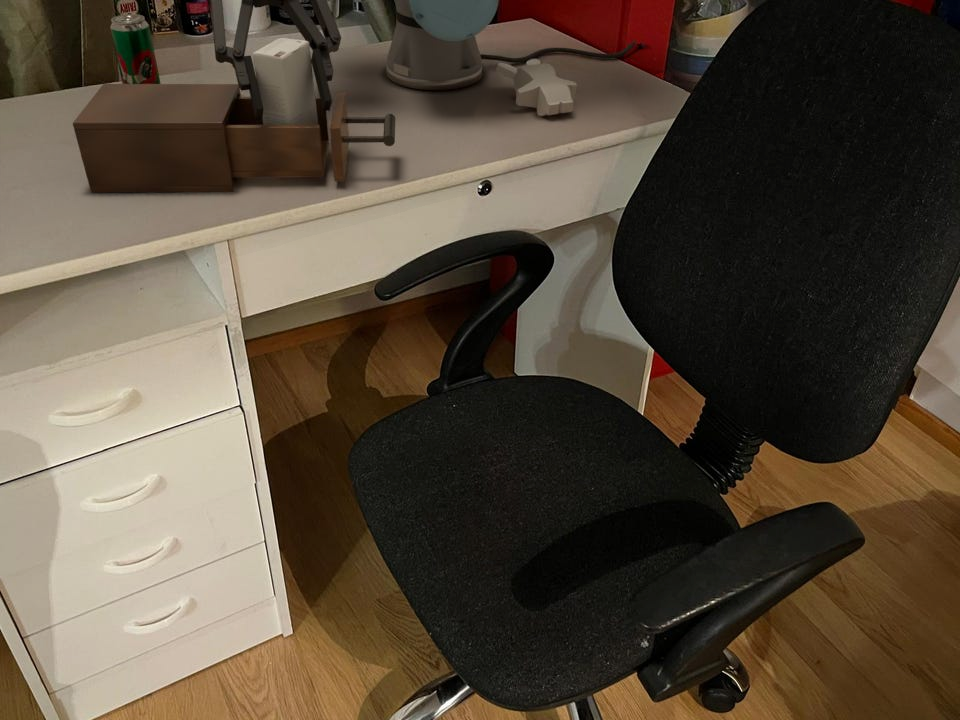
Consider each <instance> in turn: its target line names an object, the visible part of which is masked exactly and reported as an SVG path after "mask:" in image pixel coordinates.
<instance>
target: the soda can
mask: <svg viewBox="0 0 960 720" xmlns="http://www.w3.org/2000/svg"><path fill="white" fill-rule="evenodd" d="M110 20H111V21H110V22H111V24H110V27H109V30H110V35H111V37H112V38H111V39H112V43H113V48H114V51H115V56H116V57H115V58H116V61H117V65H118V70H119V74H120V78H121V84H162V83H161V78H160V74H159V68H158V64H157V59H156V53H155V48H154V44H153V38H152V33H151V28H150V24H148V22H147V21H146V18H145V16H144V15H141V14H137V13H136V14H135V13H127V14H120V15H116V16H114V17H112V18H111V19H110Z"/></svg>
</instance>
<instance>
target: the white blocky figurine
mask: <svg viewBox="0 0 960 720" xmlns="http://www.w3.org/2000/svg"><path fill="white" fill-rule="evenodd" d="M494 74H496V75H497V76H501V77H502V78H506V79H510V80H512V81H513V85H514V91H515V95H516V97H515V105H517V106H520V107H528V108H535V109H536V114H537V115H538V117H544V116H545V117H546V116H552V115H558V114H565V113H573V108H574V100H573V99H575V98H576V95H577V94H576V93H577V86H578V85H577V83H576V82H575V81H571V80H568V79H565V78H561V77H558V76H557V74H556V70H555V68H554V67H553V66H552V65H551V64H549V63H548V62H547V63H546V62H545V63H541V60H540V59H538V58H533V59H531V60H528V61H526V65H521V66H518V68H516V67H514V66H512V65H510V63H507V62H499V63H498V64H497V65H496V68H495V69H494Z"/></svg>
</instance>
